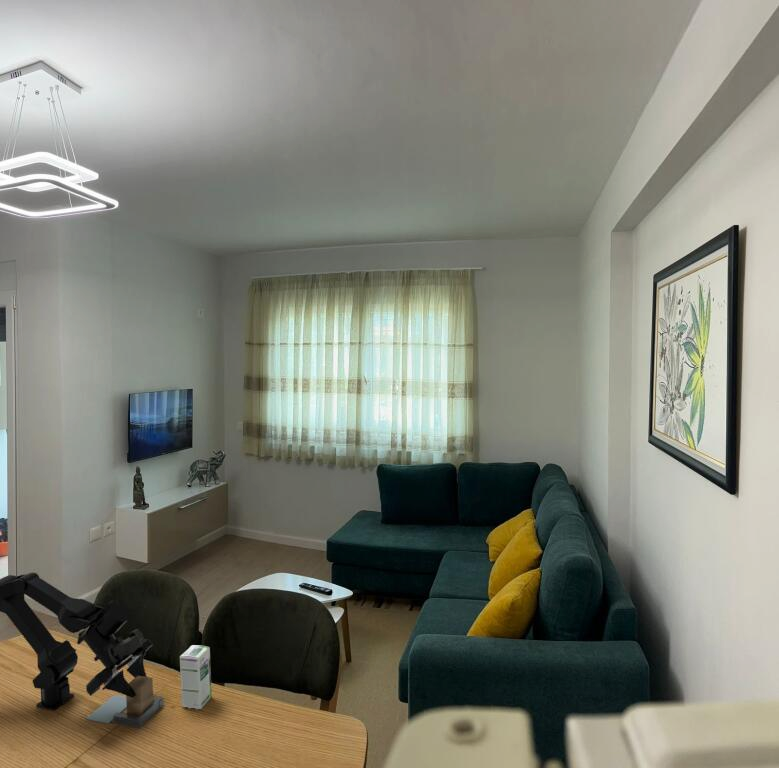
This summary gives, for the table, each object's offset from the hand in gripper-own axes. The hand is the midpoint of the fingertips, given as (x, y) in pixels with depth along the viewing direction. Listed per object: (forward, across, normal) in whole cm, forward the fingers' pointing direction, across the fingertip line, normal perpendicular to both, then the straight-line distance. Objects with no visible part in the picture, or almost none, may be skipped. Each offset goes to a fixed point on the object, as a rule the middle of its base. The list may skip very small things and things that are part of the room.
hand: (140, 690), depth 141 cm
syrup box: (+13, +8, -3) cm, 15 cm away
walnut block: (+4, 0, +5) cm, 7 cm away
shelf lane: (+4, 0, +5) cm, 7 cm away
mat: (-2, 0, +11) cm, 11 cm away
